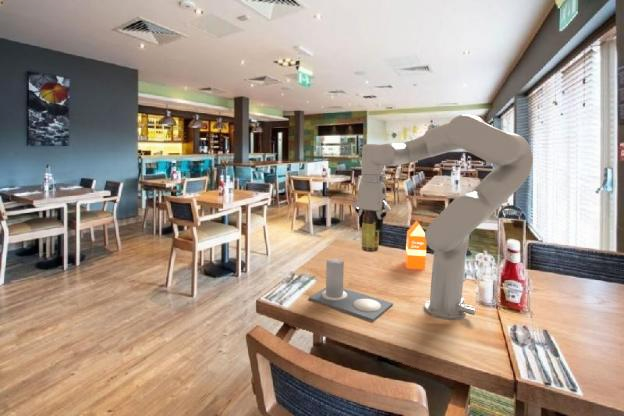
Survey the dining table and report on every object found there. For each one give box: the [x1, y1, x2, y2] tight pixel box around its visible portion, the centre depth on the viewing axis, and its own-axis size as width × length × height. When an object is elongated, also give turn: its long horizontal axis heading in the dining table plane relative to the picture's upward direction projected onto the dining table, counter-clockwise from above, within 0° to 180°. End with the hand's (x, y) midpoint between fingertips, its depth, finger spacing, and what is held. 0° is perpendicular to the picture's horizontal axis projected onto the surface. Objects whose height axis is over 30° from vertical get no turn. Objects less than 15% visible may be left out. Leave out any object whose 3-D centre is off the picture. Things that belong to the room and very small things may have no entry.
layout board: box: [308, 258, 394, 322], centre depth 119 cm, size 25×14×13 cm, turn 53°
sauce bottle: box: [361, 210, 380, 253], centre depth 129 cm, size 7×6×20 cm
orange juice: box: [405, 220, 428, 270], centre depth 156 cm, size 8×9×20 cm
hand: (370, 227), depth 129 cm, fingers closed on sauce bottle, 6 cm apart
